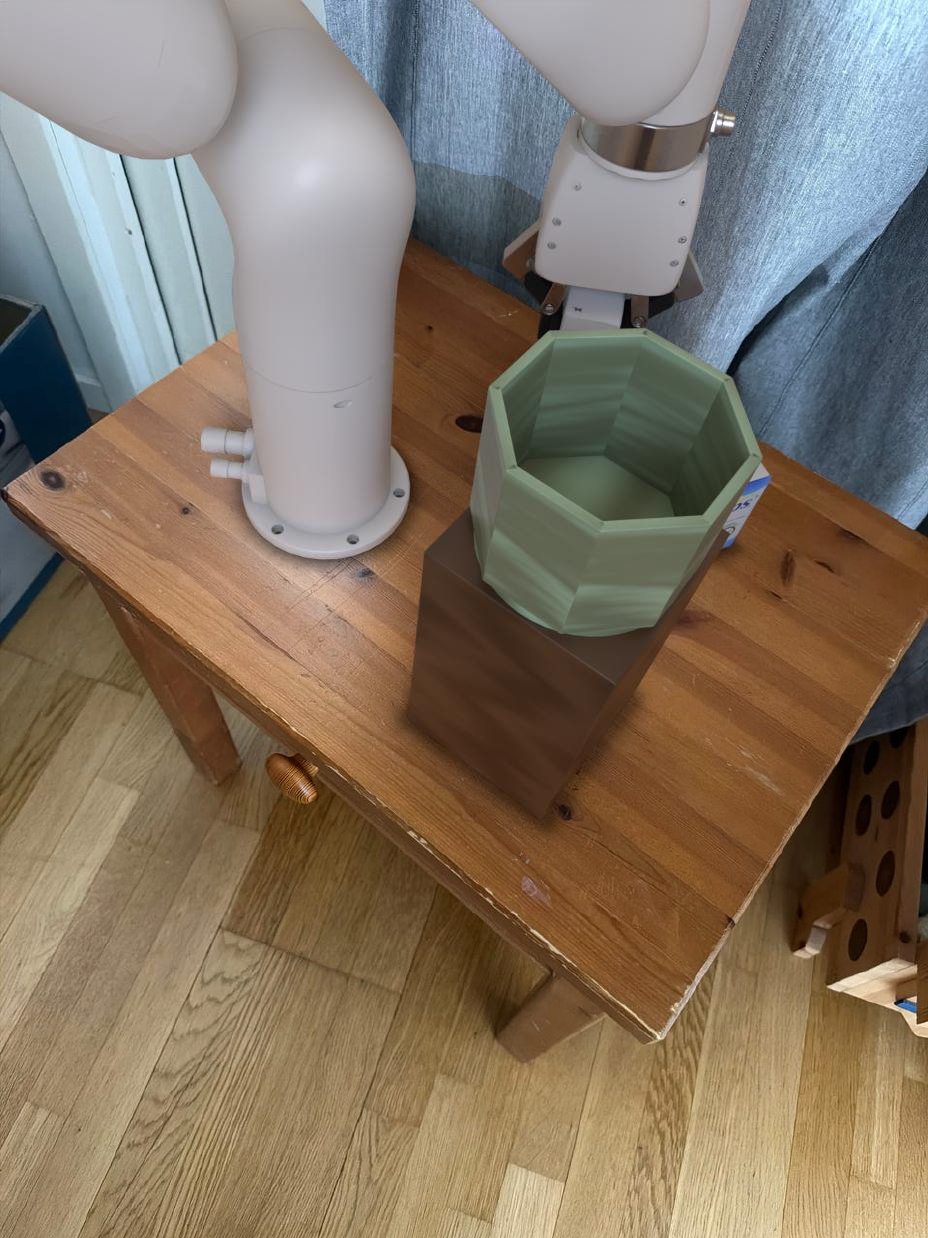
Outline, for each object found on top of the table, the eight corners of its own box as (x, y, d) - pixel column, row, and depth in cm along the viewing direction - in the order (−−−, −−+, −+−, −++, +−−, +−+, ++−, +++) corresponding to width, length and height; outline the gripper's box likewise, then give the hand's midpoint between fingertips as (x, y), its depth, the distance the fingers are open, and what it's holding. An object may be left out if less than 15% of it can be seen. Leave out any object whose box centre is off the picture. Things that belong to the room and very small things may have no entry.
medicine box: (644, 577, 67) (678, 507, 60) (616, 531, 69) (646, 458, 62) (731, 547, 70) (775, 476, 62) (702, 503, 71) (741, 430, 64)
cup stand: (407, 719, 60) (434, 429, 35) (502, 610, 65) (586, 289, 40) (540, 820, 57) (672, 583, 33) (630, 699, 62) (803, 414, 37)
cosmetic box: (585, 441, 74) (621, 327, 63) (535, 429, 74) (562, 314, 63) (595, 388, 77) (630, 272, 66) (546, 377, 77) (573, 260, 66)
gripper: (777, 104, 56) (687, 331, 72) (509, 64, 55) (478, 301, 71) (788, 178, 52) (690, 400, 68) (500, 136, 52) (469, 369, 67)
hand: (582, 347), depth 69 cm, fingers closed on cosmetic box, 4 cm apart
